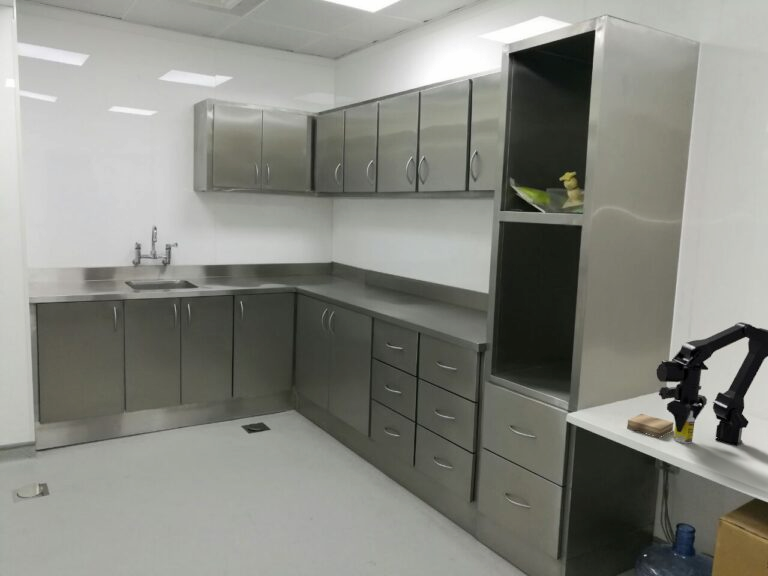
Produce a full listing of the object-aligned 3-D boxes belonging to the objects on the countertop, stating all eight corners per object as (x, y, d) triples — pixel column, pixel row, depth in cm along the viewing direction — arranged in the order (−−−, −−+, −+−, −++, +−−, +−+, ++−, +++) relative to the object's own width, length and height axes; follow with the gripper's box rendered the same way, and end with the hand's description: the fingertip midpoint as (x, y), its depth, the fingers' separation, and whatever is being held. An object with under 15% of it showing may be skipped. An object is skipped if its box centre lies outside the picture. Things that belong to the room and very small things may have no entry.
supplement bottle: (688, 445, 202) (691, 414, 200) (670, 440, 206) (674, 409, 204) (694, 441, 205) (698, 411, 204) (677, 436, 209) (680, 406, 208)
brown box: (672, 430, 215) (673, 422, 215) (659, 437, 207) (660, 429, 207) (640, 422, 223) (641, 413, 222) (627, 428, 215) (628, 419, 214)
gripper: (675, 372, 215) (669, 416, 217) (653, 380, 202) (647, 427, 204) (709, 380, 208) (704, 425, 209) (689, 389, 194) (683, 437, 196)
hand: (684, 428), depth 205 cm, fingers open, 9 cm apart
